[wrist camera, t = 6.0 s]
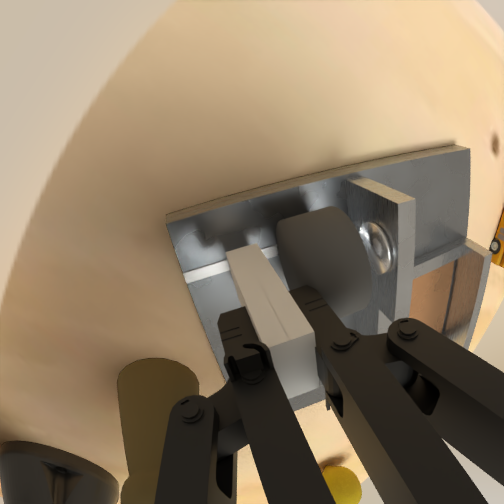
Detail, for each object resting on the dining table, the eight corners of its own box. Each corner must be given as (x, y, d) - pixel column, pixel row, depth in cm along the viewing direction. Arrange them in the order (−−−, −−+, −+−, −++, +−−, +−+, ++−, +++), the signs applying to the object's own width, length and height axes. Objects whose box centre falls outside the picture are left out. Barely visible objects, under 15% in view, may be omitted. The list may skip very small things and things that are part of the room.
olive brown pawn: (212, 397, 22) (245, 528, 12) (144, 419, 22) (155, 543, 12) (175, 346, 19) (197, 507, 10) (100, 373, 19) (89, 519, 9)
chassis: (242, 412, 24) (261, 472, 18) (166, 214, 16) (164, 267, 10) (439, 328, 26) (477, 365, 21) (455, 144, 18) (520, 163, 13)
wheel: (285, 291, 17) (323, 350, 13) (269, 206, 15) (312, 247, 11) (333, 275, 18) (380, 326, 13) (323, 191, 15) (382, 225, 11)
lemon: (353, 452, 34) (379, 498, 27) (331, 473, 35) (353, 516, 28) (321, 457, 32) (346, 508, 24) (299, 477, 33) (320, 525, 26)
